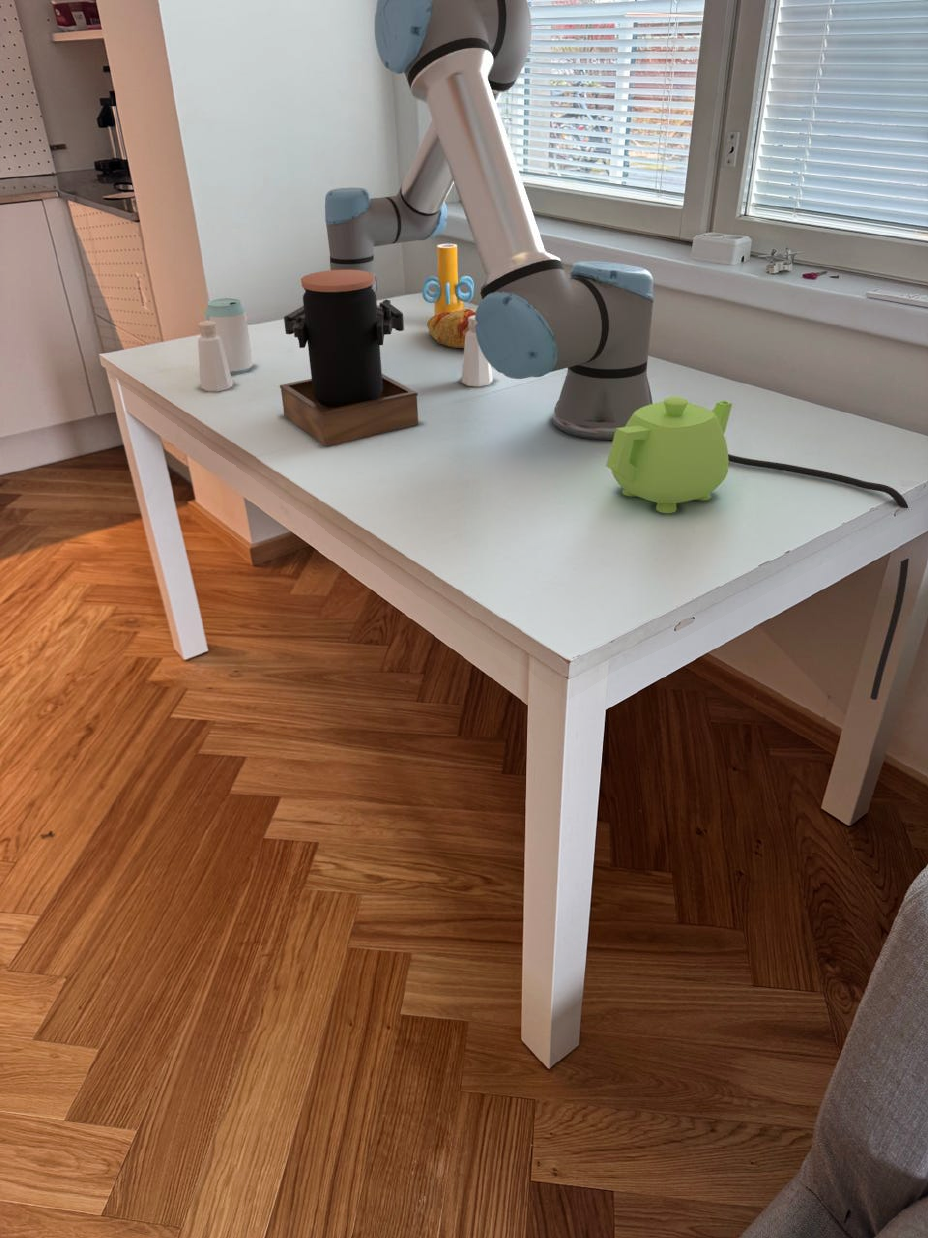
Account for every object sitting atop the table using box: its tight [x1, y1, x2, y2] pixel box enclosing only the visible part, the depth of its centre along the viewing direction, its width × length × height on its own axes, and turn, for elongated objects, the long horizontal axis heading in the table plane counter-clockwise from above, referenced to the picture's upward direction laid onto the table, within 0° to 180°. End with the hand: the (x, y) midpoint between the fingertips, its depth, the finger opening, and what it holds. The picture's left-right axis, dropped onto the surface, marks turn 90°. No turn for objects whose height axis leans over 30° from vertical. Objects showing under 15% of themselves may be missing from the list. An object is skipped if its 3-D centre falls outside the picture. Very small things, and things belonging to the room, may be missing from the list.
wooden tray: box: [279, 373, 419, 447], centre depth 145 cm, size 16×16×5 cm
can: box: [204, 297, 254, 375], centre depth 168 cm, size 7×7×12 cm
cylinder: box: [421, 243, 475, 316], centre depth 192 cm, size 12×10×15 cm
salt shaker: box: [197, 320, 234, 393], centre depth 159 cm, size 5×5×11 cm
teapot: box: [605, 396, 733, 514], centre depth 118 cm, size 20×13×13 cm
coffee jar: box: [300, 269, 383, 409], centre depth 140 cm, size 11×11×18 cm
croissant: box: [426, 307, 476, 349], centre depth 181 cm, size 21×10×8 cm, turn 40°
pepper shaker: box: [461, 315, 494, 388], centre depth 159 cm, size 5×5×11 cm
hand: (340, 337), depth 136 cm, fingers closed on coffee jar, 11 cm apart
